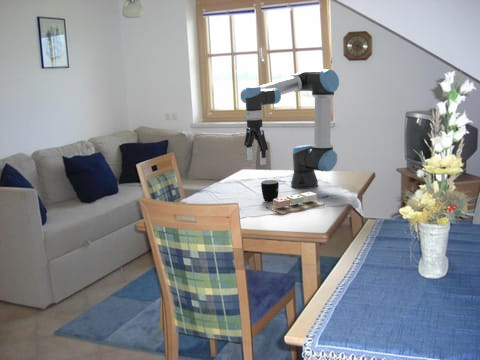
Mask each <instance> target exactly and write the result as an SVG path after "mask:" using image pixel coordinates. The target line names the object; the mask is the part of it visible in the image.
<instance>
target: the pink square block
mask: <svg viewBox="0 0 480 360" xmlns="http://www.w3.org/2000/svg"><path fill="white" fill-rule="evenodd" d="M273 205H274V206H277V207H279V208H281V207H286V206H290V199H287V197H284V196H283V197H278V198H276V199H273V202H272V206H273Z"/></svg>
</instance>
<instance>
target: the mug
mask: <svg viewBox="0 0 480 360" xmlns="http://www.w3.org/2000/svg"><path fill="white" fill-rule="evenodd" d="M260 186H261V187H260V188H261V195H262V198H263V200H264V202H265V203H273V199H276V198H279V181H278V180H276V179H265V180H261V182H260Z"/></svg>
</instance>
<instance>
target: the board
mask: <svg viewBox="0 0 480 360" xmlns="http://www.w3.org/2000/svg"><path fill="white" fill-rule="evenodd" d="M320 206H321V207H322V206H325V203H323V202H320V201H317V200H314V201H309V202H306V201H304V203H300V204H295V205H293V204H290V206H286V207H281V208H279V207H277V206H274V205H273V204H272V205H269V206H267V207H268V208H270V209H269V210H271V209H273V210H275V211H277V212H276V213H278V212H279V213H278V214H281V215H284V214H285V215H286V214H288V213H292V212H299V211H303V210H306V209H307V210H308V209H312V208H315V207H316V208H317V207H320ZM268 208H267V209H268ZM273 210H272V211H273ZM275 211H274V212H275Z"/></svg>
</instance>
